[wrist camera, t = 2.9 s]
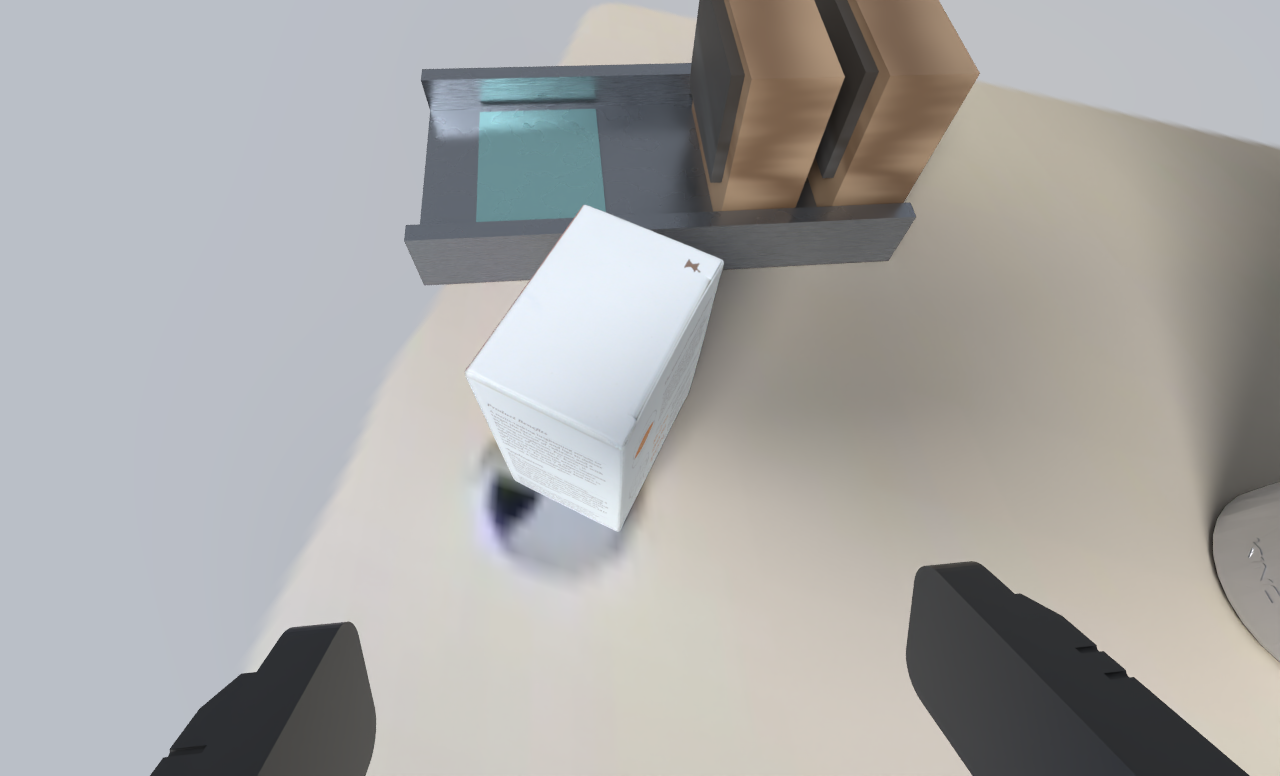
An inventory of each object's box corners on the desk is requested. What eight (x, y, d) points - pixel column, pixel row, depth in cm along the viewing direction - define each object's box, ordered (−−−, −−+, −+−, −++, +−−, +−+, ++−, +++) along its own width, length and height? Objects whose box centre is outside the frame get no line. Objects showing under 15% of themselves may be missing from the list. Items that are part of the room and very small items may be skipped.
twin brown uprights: (845, 104, 38) (908, -54, 30) (891, 222, 33) (979, 73, 25) (682, 108, 37) (701, -53, 29) (706, 231, 32) (737, 79, 24)
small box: (592, 348, 30) (584, 196, 21) (691, 393, 30) (729, 253, 20) (509, 482, 27) (456, 369, 18) (619, 537, 26) (623, 449, 17)
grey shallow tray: (832, 109, 40) (850, 59, 37) (888, 260, 34) (916, 216, 31) (437, 120, 38) (422, 69, 35) (424, 285, 32) (404, 240, 29)
